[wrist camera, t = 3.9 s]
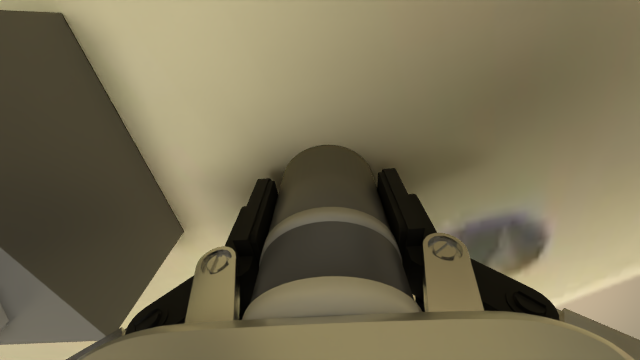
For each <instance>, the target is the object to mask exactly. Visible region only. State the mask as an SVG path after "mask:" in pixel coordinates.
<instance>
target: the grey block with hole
mask: <svg viewBox="0 0 640 360" xmlns="http://www.w3.org/2000/svg"><path fill="white" fill-rule="evenodd" d="M183 232H184V231H183V229H182V228H181V226H180V224H179V222H178V221H177V219H176V217H175V215H174V213H173V212H172V210H171V208H170V206H169V205H168V203H167V201H166V199H165V197H164V196H163V194H162V192H161V190H160V189H159V187H158V185H157V183H156V181H155V180H154V178H153V176H152V174H151V173H150V171H149V169H148V167H147V165H146V164H145V162H144V160H143V158H142V156H141V155H140V153H139V151H138V149H137V148H136V146H135V144H134V142H133V140H132V139H131V137H130V135H129V133H128V132H127V130H126V128H125V126H124V124H123V123H122V121H121V119H120V117H119V116H118V114H117V112H116V110H115V108H114V107H113V105H112V103H111V101H110V100H109V98H108V96H107V94H106V92H105V91H104V89H103V87H102V85H101V83H100V82H99V80H98V78H97V76H96V75H95V73H94V71H93V69H92V67H91V66H90V64H89V62H88V60H87V59H86V57H85V55H84V53H83V51H82V50H81V48H80V46H79V44H78V43H77V41H76V39H75V37H74V35H73V34H72V32H71V30H70V28H69V27H68V25H67V23H66V21H65V19H64V18H63V16H62V14H61V13H50V12H28V11H6V10H0V345H5V344H30V343H55V342H80V341H99V340H101V339H102V338H104V337H106V336H107V335H109V334H111V333H113V332H114V331H116V330H118V329H119V327H120V326H121V324H122V323H123V321H124V320H125V318H126V317H127V315H128V314H129V312H130V311H131V310H132V308H133V307H134V305H135V304H136V302H137V301H138V299H139V298H140V296H141V295H142V293H143V292H144V290H145V289H146V287H147V286H148V284H149V283H150V281H151V280H152V278H153V277H154V275H155V274H156V272H157V271H158V269H159V268H160V266H161V265H162V263H163V262H164V260H165V259H166V257H167V256H168V254H169V253H170V251H171V250H172V248H173V247H174V245H175V244H176V242H177V241H178V239H179V238H180V236H181V235H182V233H183Z"/></svg>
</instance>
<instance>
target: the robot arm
mask: <svg viewBox="0 0 640 360" xmlns="http://www.w3.org/2000/svg"><path fill="white" fill-rule="evenodd" d="M377 190H378V193H379V196H380V199H381V202H382V205H383V208H384V211H385V214H386V217H387V220H388V223H389V226H390V229H391V232H392V234H393V236H394V237H395V240H396V242H397V245H398V248H399V251H400V254H401V257H402V265H403V268H404V271H405V274H406V277H407V280H408V283H409V286H410V289H411V292H412V294H413V298H414V301H415V302H416V303H417V304H418V306H419V307H420V308H421V310H422V312H413V313H387V314H362V315H339V316H316V317H294V318H273V319H253V320H242V318H243V315H244V313H245V310H246V309H247V307H248V306H249V305H250V302H251V298H252V294H253V291H254V287H255V283H256V279H257V275H258V271H259V263H260V257H261V254H262V250H263V246H264V243H265V240H266V238H267V236H268V232H269V229H270V225H271V221H272V217H273V213H274V209H275V205H276V201H277V198H278V192H277V188H276V184H275V181H271V179H270V178H267V179H258V180H257V183H256V185H255V187H254V190H253V192H252V195H251V197H250V199H249V202H248V204H247V206H244V207H242V208H241V210H240V213H239V215H238V217H237V219H236V222H235V224H234V226H233V228H232V231H231V233H230V235H229V238H228V240H227V242H226V244H225V246H223V247H217V248H215V249H212V250H210V251H209V252H207V253H206V254H204V255H203V256H202V257H201V259H200V260H199V261H198V263H197V266H196V270H195V275H194V276H193V277H191V278H189V279H188V280H186V281H185V282H183V283H182V284H180V285H179V286H177V287H176V288H174V289H173V290H171V291H170V292H168V293H167V294H165V295H164V296H162V297H161V298H159V299H158V300H156V301H155V302H153V303H152V304H150V305H149V306H147V307H146V308H144V309H143V310H142V311H140V312H139V313H138V314H137V315H136V316H135V317H134V318H133V319H132V321H131V322H130V324H129V325H128V327H127V328H126V329H125V330H124V329H123V328H122V327H121V328H119V329H118V330H116V331H114V332H113V333H111V334H109V335H107V336H106V337H104V338H102V339H101V340H99V341H97V342H95V343H94V344H92V345H90V346H89V347H87V348H85V349H83V350H82V351H80V352H78V353H77V354H75V355H73V356H71V357H70V358H68V359H66V360H640V340H638V339H636V338H634V337H631V336H629V335H627V334H624V333H622V332H620V331H617V330H615V329H612V328H610V327H608V326H605V325H603V324H601V323H598V322H596V321H594V320H591V319H589V318H587V317H584V316H582V315H580V314H577V313H575V312H572V311H570V310H568V309H566V308H564V309H563V310H562V311H561V310H558V309H556V308H555V306H554V305H553V304H552V303H551V302H550V300H548V299H547V298H546V297H545V296H544V295H542V294H541V293H539V292H537V291H536V290H534V289H532V288H530V287H528V286H526V285H524V284H522V283H520V282H518V281H516V280H514V279H512V278H510V277H508V276H506V275H504V274H501V273H499V272H497V271H495V270H493V269H491V268H489V267H487V266H485V265H483V264H481V263H479V262H477V261H475V260H473V259H471V258H470V257H469V253H468V250H467V248H466V246H465V245H464V244H463V243H462V241H460V240H459V239H457V238H456V237H454V236H451V235H449V234H445V233H437V231H436V230H435V228H434V226H433V224H432V222H431V221H430V219H429V217H428V215H427V213H426V212H425V210H424V208H423V206H422V204H421V202H420V201H419V199H418V197H417V196H416V194H408V193H407V191H406V189H405V187H404V185H403V183H402V181H401V179H400V177H399V175H398V173H397V171H396V169H395V168H392V169H383V170H382V172H379V173H378V187H377Z"/></svg>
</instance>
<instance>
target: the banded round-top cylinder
mask: <svg viewBox="0 0 640 360" xmlns="http://www.w3.org/2000/svg"><path fill="white" fill-rule="evenodd" d="M413 312H422V310H421V308H420V307H419V306H418V304H417V303H416V302H415V301H414V298H413V295H412V292H411V289H410V286H409V283H408V280H407V277H406V274H405V271H404V268H403V265H402V257H401V254H400V251H399V248H398V245H397V242H396V240H395V237H394V236H393V234H392V232H391V229H390V226H389V223H388V220H387V217H386V214H385V211H384V208H383V205H382V202H381V199H380V196H379V193H378V190H377V187H376V184H375V181H374V178H373V175H372V173H371V170H370V168H369V166H368V164H367V163H366V162H365V160H364V159H363V158H362V157H361V156H360V155H358V154H357V153H355V152H354V151H352V150H350V149H347V148H344V147H341V146H336V145H321V146H315V147H312V148H309V149H307V150H304V151H303V152H301V153H299V154H298V155H297V156H295V157H294V158H293V159H292V160H291V161H290V163H289V164H288V165H287V167H286V169H285V172H284V174H283V178H282V182H281V186H280V190H279V194H278V198H277V201H276V205H275V209H274V213H273V217H272V221H271V225H270V229H269V232H268V236H267V238H266V240H265V243H264V246H263V250H262V254H261V257H260V263H259V271H258V275H257V279H256V283H255V287H254V291H253V294H252V298H251V302H250V305H249V306H248V307H247V309H246V310H245V313H244V315H243V318H242V320H253V319H273V318H294V317H316V316H339V315H362V314H387V313H413Z"/></svg>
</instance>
